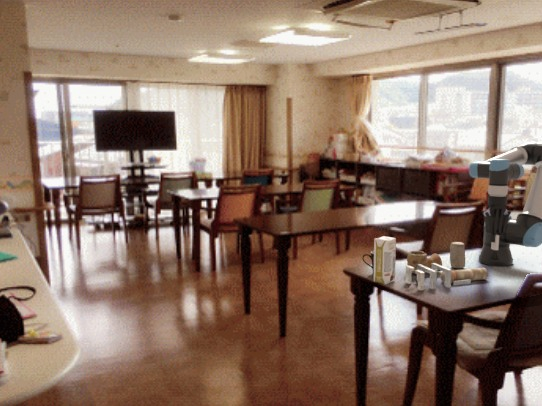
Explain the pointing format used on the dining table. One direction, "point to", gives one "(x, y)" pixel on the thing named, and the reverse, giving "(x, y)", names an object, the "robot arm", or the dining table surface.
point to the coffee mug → (371, 259)
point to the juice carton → (384, 259)
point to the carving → (457, 255)
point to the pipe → (422, 259)
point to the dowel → (467, 274)
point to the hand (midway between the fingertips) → (494, 249)
